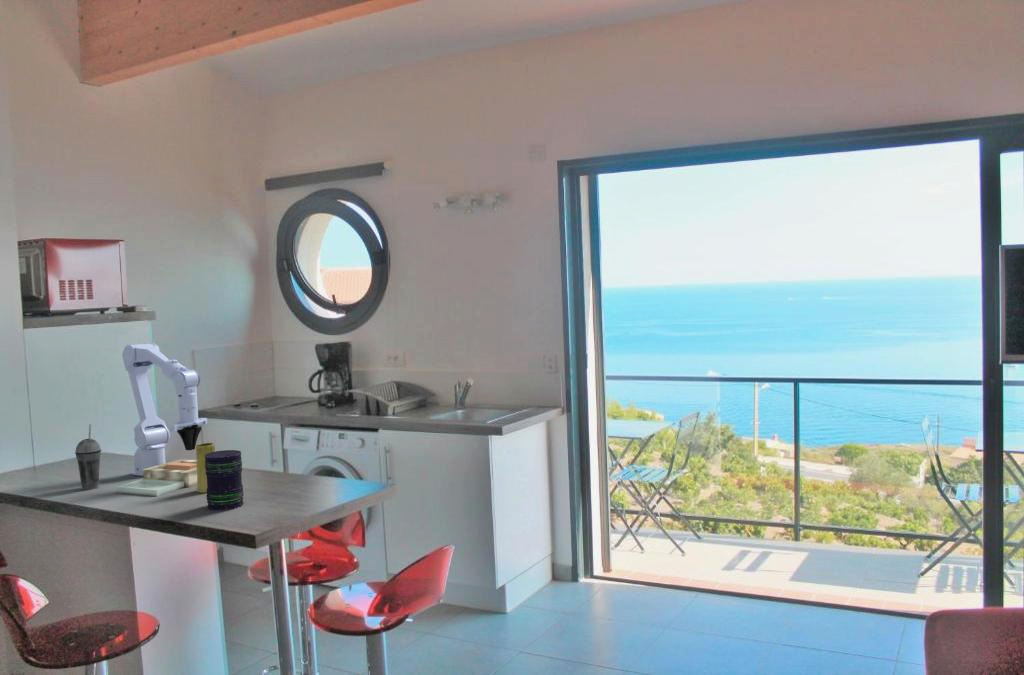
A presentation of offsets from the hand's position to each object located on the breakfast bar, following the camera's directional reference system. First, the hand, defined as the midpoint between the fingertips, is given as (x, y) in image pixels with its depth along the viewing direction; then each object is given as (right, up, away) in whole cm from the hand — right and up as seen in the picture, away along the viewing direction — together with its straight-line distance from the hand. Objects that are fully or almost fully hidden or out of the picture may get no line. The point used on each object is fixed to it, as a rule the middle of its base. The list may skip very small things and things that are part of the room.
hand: (190, 449), depth 256 cm
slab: (-3, -8, +2) cm, 9 cm away
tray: (-8, -11, -11) cm, 17 cm away
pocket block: (-3, -10, +2) cm, 10 cm away
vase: (+11, -11, -14) cm, 21 cm away
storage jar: (+23, -12, -33) cm, 42 cm away
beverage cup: (-29, -11, -6) cm, 32 cm away
